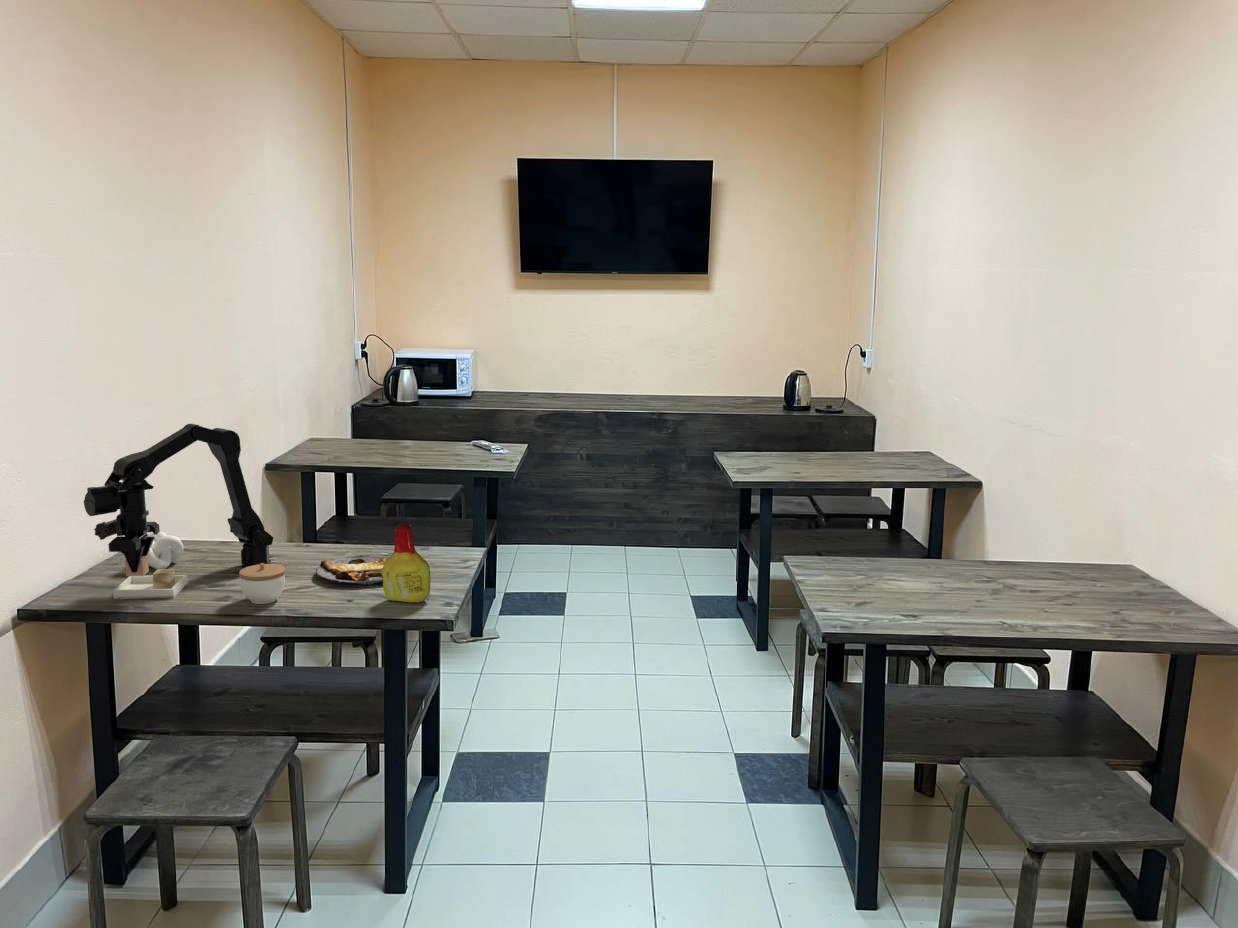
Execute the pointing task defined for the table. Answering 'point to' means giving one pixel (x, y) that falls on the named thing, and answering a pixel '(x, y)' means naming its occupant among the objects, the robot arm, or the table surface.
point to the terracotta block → (142, 567)
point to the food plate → (353, 569)
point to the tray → (147, 588)
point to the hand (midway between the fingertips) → (137, 569)
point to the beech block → (164, 578)
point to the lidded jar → (262, 582)
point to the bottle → (405, 570)
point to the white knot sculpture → (164, 550)
